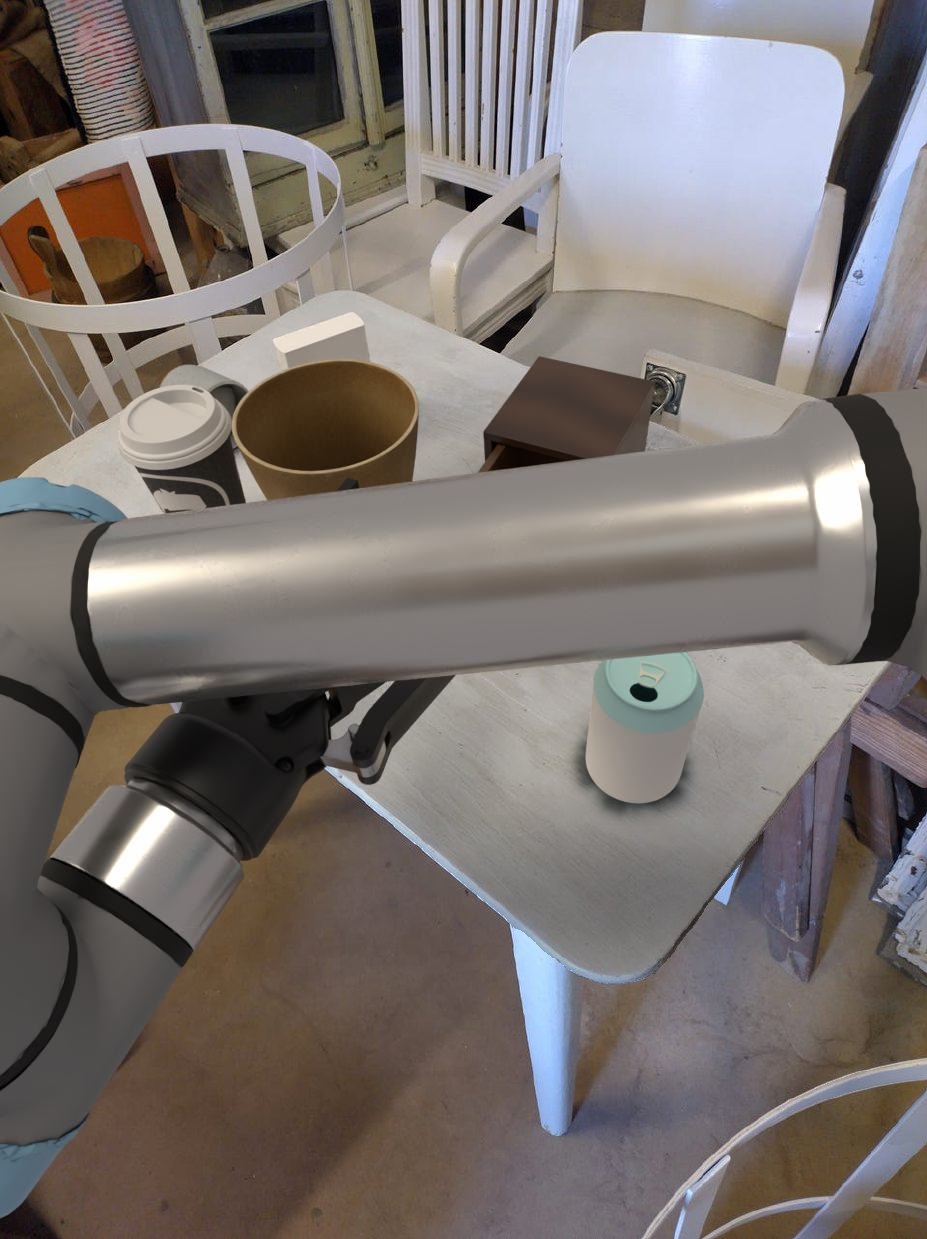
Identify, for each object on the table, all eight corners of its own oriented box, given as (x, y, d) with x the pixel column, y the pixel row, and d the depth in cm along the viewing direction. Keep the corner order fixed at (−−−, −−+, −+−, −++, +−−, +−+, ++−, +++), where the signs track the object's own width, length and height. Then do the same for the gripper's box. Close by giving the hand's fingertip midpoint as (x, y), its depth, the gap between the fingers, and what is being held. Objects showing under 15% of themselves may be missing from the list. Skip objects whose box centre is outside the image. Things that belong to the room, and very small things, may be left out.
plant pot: (304, 633, 71) (257, 495, 59) (261, 527, 80) (213, 388, 68) (461, 576, 74) (447, 434, 62) (403, 480, 83) (381, 339, 71)
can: (696, 794, 59) (727, 702, 50) (603, 817, 58) (617, 728, 49) (659, 715, 63) (682, 617, 54) (572, 735, 63) (580, 640, 54)
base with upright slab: (319, 469, 85) (293, 369, 76) (286, 425, 90) (259, 326, 81) (395, 438, 87) (380, 337, 78) (360, 397, 93) (341, 298, 83)
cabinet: (600, 544, 76) (607, 463, 68) (487, 511, 79) (482, 431, 72) (643, 462, 82) (655, 381, 75) (537, 435, 86) (538, 355, 79)
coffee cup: (286, 547, 78) (243, 417, 66) (193, 592, 75) (131, 465, 63) (244, 494, 83) (198, 365, 72) (156, 534, 80) (93, 407, 69)
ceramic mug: (217, 403, 93) (195, 344, 87) (264, 429, 90) (244, 369, 84) (142, 453, 89) (113, 394, 83) (188, 482, 85) (161, 422, 79)
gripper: (57, 779, 44) (290, 513, 57) (386, 946, 38) (569, 602, 50) (-14, 703, 39) (264, 425, 51) (361, 884, 32) (575, 512, 44)
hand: (415, 513), depth 51 cm, fingers open, 8 cm apart
